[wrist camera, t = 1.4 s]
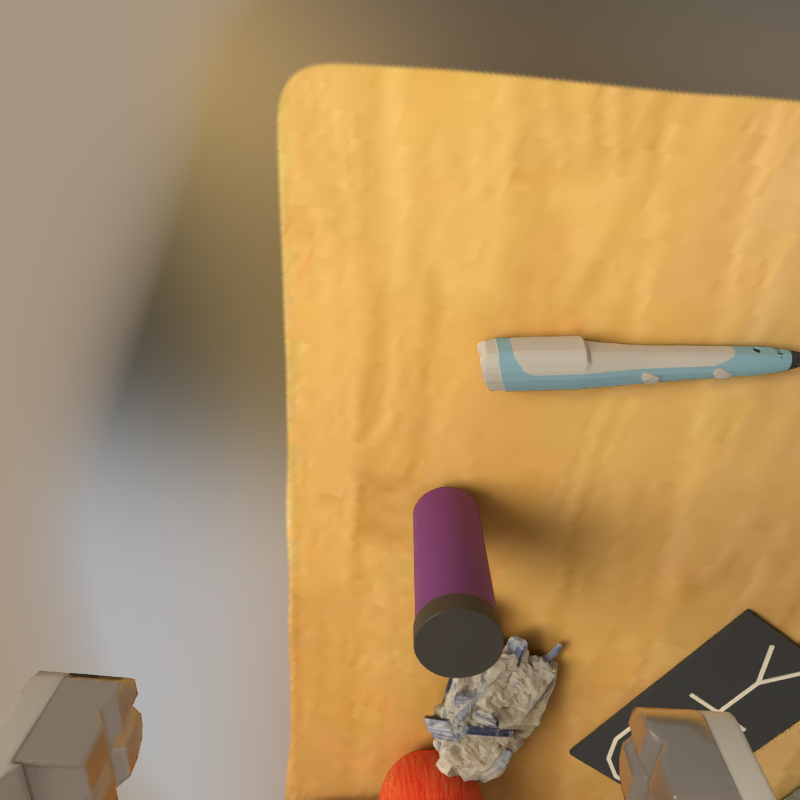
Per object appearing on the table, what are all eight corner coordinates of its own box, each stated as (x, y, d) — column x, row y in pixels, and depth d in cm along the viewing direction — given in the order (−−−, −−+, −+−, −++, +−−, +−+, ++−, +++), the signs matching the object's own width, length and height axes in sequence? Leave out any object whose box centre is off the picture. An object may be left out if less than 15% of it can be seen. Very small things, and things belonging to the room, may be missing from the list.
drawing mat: (747, 608, 47) (751, 613, 47) (846, 680, 50) (850, 686, 49) (569, 750, 53) (570, 756, 52) (666, 808, 56) (668, 813, 55)
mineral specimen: (503, 757, 53) (511, 808, 49) (403, 734, 52) (403, 784, 48) (579, 620, 48) (594, 665, 44) (468, 591, 47) (473, 635, 43)
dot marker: (440, 465, 42) (452, 594, 31) (493, 501, 44) (523, 639, 32) (397, 511, 44) (395, 650, 33) (449, 545, 45) (464, 691, 34)
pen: (475, 382, 40) (479, 402, 38) (476, 331, 39) (481, 348, 36) (801, 376, 40) (828, 396, 37) (813, 325, 39) (843, 341, 36)
